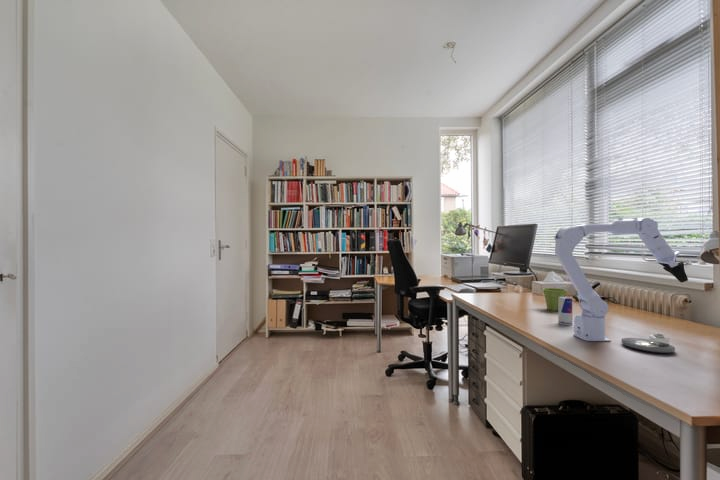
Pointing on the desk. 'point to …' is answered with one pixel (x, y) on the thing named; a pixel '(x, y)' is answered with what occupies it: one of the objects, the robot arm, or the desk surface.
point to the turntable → (646, 345)
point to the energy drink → (565, 310)
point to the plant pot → (553, 297)
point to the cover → (659, 340)
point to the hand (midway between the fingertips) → (681, 278)
